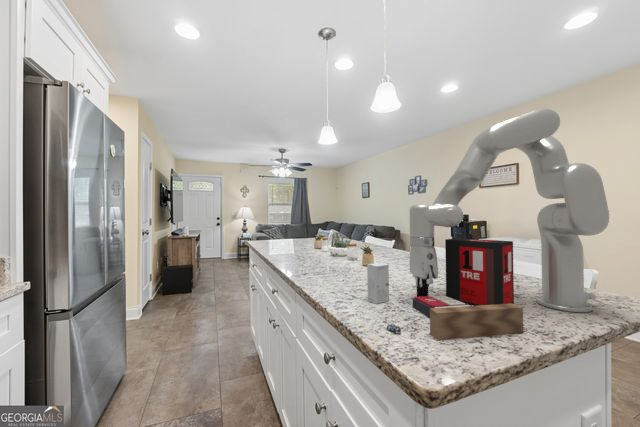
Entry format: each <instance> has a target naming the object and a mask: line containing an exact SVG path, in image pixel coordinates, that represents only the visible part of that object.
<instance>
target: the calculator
mask: <svg viewBox="0 0 640 427" xmlns="http://www.w3.org/2000/svg"><path fill="white" fill-rule="evenodd" d="M463 306H469V305H468V304H465V303H463V302H460V301H457V300H453V299H452V298H450V297H447V296H446V295H444V294H442V295H430V296H429V295H428V296H421V297H417V296H414V298H412V308H413V309H414V310H417V311H418V312H420V313H421V314H422V315H424V316H426V317H428V318H429V319H430V309H431V308H447V307H463Z"/></svg>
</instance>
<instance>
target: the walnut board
mask: <svg viewBox="0 0 640 427" xmlns="http://www.w3.org/2000/svg"><path fill="white" fill-rule="evenodd" d="M523 333H524V307H522V306H520V305H517V304H515V303H514V304H512V303H511V304H495V305H479V306H472V305H468V306H463V307H447V308H431V309H430V318H429V334H430V335H431V336H432V337H433V338H435V340H437V341H440V340H442V341H443V340H453V339H465V338H467V339H469V338H480V337H489V336H502V335H503V336H504V335H514V334H523Z"/></svg>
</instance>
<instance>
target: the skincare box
mask: <svg viewBox="0 0 640 427" xmlns="http://www.w3.org/2000/svg"><path fill="white" fill-rule="evenodd" d="M366 268H367V271H366V272H367V273H366V274H367V276H366V278H367V301H368V302H370V303H372V304H374V305H375V304H376V305H377V304H382V303H386V302H389V301H390V284H389V283H390V281H389V280H390V274H389V270H390V269H389V264H388V263H383V262H376V263H367V267H366Z"/></svg>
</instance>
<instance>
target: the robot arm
mask: <svg viewBox="0 0 640 427" xmlns="http://www.w3.org/2000/svg"><path fill="white" fill-rule="evenodd" d="M560 125H561V117H560V115H559V114H558V113H557V111H555V110H553V109H551V108H539V109H535V110H532V111H529V112H527V113H523V114H520V115H518V116H516V117H512V118H509V119H506V120H502V121H500V122H497V123H496V124H495V123H494V124H493V125H491V126H489V127H488V128H486V129H485V130H483V131H481V132H480V133H479V134H477V136H476V137H474V139H473V140H472V142H471V144H470V145H469V147H468V149H467V150H466V151H465V152H466V153H465V155H464V156H463V157H462V160H461V161H460V163H459V165H458V166H457V168H456V170H455V171H454V172H453V174H452V175H451V176H450V177H449V179H448V181H447V182H446V183H445V185H444V186H443V187H442V189H440V192H438V194H437V196H436V198H435V199H434V201H433V203H432V205H431V204H413V205H411V206H410V208H409V247H410V250H409V272H410V274H412V277H413V278H414V280H415V285H416V297H421V296H429V288H430V285H433V284H434V279H435V280H437V279H438V277H439V269H438V268H439V266H438V258H437V252H436V247H435V227H436V226H437V227H444V228H453V227H456V226H458V225H459V224H461V222H462V221H463V219H464V212H463V209H462V208H461V207H459V206H458V205H459V204H460V203H461V201H462V200H463V199H464V198H466V196H467V195H468V194H469V193H470V192H472V191H474V190H475V189H476V188H478V187H479V186H480V185H481V184H482V183H483V181H484V180H485V178H486V176H487V175H488V172H489V171H490V169H491V168H492V166H493V164H494V162H495V160H496V159H497V158H498V156H499V154H502V153H504V152H507V151H509V150H512V149H517V150H519V151H521V152H522V153H524V154H525V155H526V156H527V158H528V159H529V162H530V164H531V168H532V173H533V179H534V185H535V188H536V192H537V193H538V194H539V197H542V198H543V199H547V200H556V199H557V200H559V199H560V200H561V199H563V200H564V202H557V203H552V204H548V205H546V206H544V207H542V208H541V209H540V211H538V214H537V218H536V222H537V227H538V231H539V236H540V242H541V243H540V244H541V245H540V246H541V254H540V255H541V294H542V295H538V296H537V297H535V302H537V304H539V305H541V306H544V307H547V308H550V309H554V310H559V311H565V312H570V313H571V312H573V313H589V312H592V310H593V306H592V305H591V304H590V303H587V300H594V299H596V298H597V296H596V294H595V293H594V292H586V291H585V278H584V277H585V275H584V274H585V270H584V269H585V268H584V248H583V247H584V246H583V243H582V241H581V239H580V236H597V235H599V234H601V233H602V232H604V231H605V230H606V229H607V227H608V225H609V223H610V213H609V212H610V211H609V207H608V201H607V197H606V190H605V186H604V182H603V179H602V177H601V176H602V175H601V174H600V173H599V171H597V169H596V168H594V167H593V166H591V165H589V164H586V163H583V162H581V163H580V162H579V163H576V162H575V163H569V160H568V156H567V152H566V149H565V147H564V145H563V144H562V143H561V141H559V140H558V139H557V138H555V137H554V136H553V135H554V134H555V133H557V131H558V129H559V127H560Z"/></svg>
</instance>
